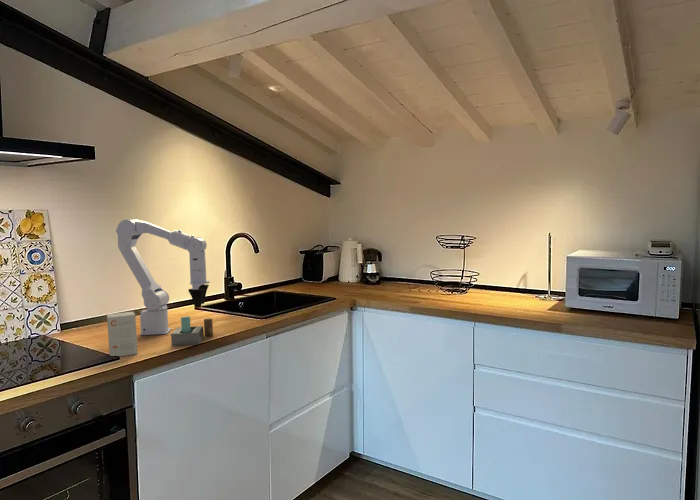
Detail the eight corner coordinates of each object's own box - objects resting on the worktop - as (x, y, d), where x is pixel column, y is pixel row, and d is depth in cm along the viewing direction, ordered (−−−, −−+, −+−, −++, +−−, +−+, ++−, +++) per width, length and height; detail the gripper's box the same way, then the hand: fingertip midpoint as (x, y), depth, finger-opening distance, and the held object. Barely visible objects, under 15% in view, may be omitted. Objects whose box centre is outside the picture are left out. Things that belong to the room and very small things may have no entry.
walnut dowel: (203, 336, 182) (203, 320, 182) (205, 334, 185) (204, 318, 185) (212, 336, 182) (211, 320, 182) (213, 334, 185) (212, 318, 185)
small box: (135, 349, 167) (133, 311, 166) (137, 354, 161) (135, 314, 160) (109, 353, 163) (106, 313, 162) (110, 358, 157) (107, 317, 156)
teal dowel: (181, 341, 172) (180, 318, 171) (183, 339, 175) (181, 316, 174) (190, 340, 172) (189, 318, 172) (191, 338, 175) (190, 316, 175)
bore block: (171, 345, 171) (171, 334, 170) (178, 338, 180) (177, 327, 180) (198, 344, 172) (198, 332, 171) (203, 337, 182) (203, 326, 181)
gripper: (205, 271, 182) (207, 308, 183) (211, 267, 196) (213, 301, 197) (185, 272, 181) (187, 309, 182) (193, 268, 195) (194, 302, 196)
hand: (199, 305), depth 189 cm, fingers open, 7 cm apart
